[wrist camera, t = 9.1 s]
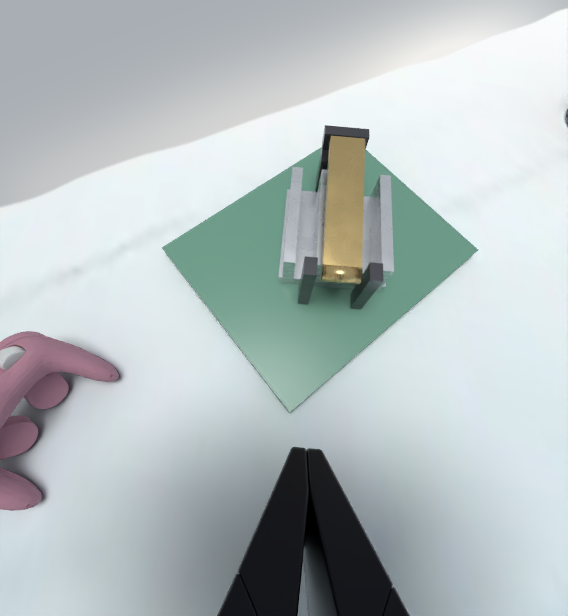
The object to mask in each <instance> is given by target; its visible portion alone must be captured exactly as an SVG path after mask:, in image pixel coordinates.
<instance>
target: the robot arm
mask: <svg viewBox="0 0 568 616" xmlns="http://www.w3.org/2000/svg"><path fill="white" fill-rule="evenodd" d="M303 559H304V571H305V582H306V594H307V606H308V616H410V615H409V614H408V612H407V610H406V608H405V606H404V604H403V602H402V601H401V599H400V597H399V595H398V593H397V591H396V589H395V588H394V587H392V582H391V580H390V578H389V576H388V574H387V572H386V571H385V569H384V567H383V565H382V563H381V561H380V559H379V557H378V555H377V554H376V552H375V550H374V548H373V546H372V544H371V542H370V540H369V538H368V537H367V535H366V533H365V531H364V529H363V527H362V525H361V523H360V521H359V520H358V518H357V516H356V514H355V512H354V510H353V508H352V506H351V504H350V502H349V501H348V499H347V497H346V495H345V493H344V491H343V489H342V487H341V485H340V484H339V482H338V480H337V478H336V476H335V474H334V472H333V470H332V468H331V467H330V465H329V463H328V461H327V459H326V457H325V455H324V453H323V452H322V451H321V450H320V449H310V448H309V449H307V451H306V449H305V448H299V447H293V448H291V450H290V452H289V455H288V457H287V459H286V462H285V464H284V466H283V468H282V471H281V473H280V475H279V478H278V480H277V482H276V484H275V487H274V489H273V491H272V494H271V496H270V498H269V500H268V503H267V505H266V507H265V510H264V512H263V514H262V516H261V519H260V521H259V523H258V526H257V528H256V530H255V533H254V535H253V537H252V539H251V542H250V544H249V546H248V549H247V551H246V553H245V555H244V558H243V560H242V562H241V565H240V567H239V569H238V573H237V574H236V575H235V578H234V580H233V582H232V585H231V587H230V589H229V591H228V594H227V596H226V598H225V600H224V602H223V604H222V606H221V609H220V611H219V613H218V615H217V616H297V615H298V604H299V594H300V584H301V574H302V563H303Z"/></svg>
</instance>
